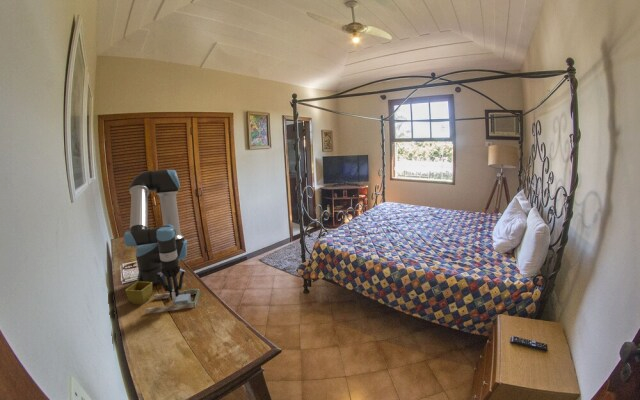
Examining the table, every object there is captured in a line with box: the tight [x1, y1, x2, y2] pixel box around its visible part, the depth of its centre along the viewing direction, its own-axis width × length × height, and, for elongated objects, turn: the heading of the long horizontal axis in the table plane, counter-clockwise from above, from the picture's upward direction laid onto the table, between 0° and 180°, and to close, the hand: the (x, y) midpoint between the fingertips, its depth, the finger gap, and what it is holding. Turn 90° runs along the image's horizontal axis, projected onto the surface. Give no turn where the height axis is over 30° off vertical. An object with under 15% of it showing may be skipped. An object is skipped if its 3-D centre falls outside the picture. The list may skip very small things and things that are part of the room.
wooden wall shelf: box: [145, 288, 201, 315], centre depth 145 cm, size 22×13×3 cm, turn 103°
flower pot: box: [124, 281, 153, 305], centre depth 146 cm, size 9×9×9 cm
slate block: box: [174, 294, 192, 305], centre depth 144 cm, size 6×6×4 cm
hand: (175, 302), depth 144 cm, fingers closed
